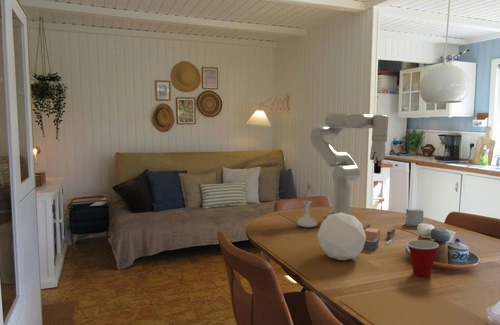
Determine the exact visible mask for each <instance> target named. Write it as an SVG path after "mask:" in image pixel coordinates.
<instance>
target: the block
mask: <svg viewBox="0 0 500 325" xmlns="http://www.w3.org/2000/svg"><path fill="white" fill-rule="evenodd" d="M364 232H365V235H366V240H368V241H374V240H375V239H379V241H380V240H381V229H379V228H372V227H370V228H367V229H365V230H364Z"/></svg>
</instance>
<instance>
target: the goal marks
mask: <svg viewBox="0 0 500 325" xmlns="http://www.w3.org/2000/svg"><path fill="white" fill-rule="evenodd" d="M393 240H394V239H392V238H391V239H388V241H387V242H386V243H385V245H387V246H388V245H389V244H391V243H392V242H393Z"/></svg>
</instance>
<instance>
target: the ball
mask: <svg viewBox="0 0 500 325" xmlns="http://www.w3.org/2000/svg"><path fill="white" fill-rule="evenodd" d="M363 226H364V225H363V223H362V222H361V221H360V220H359V219H357V218H356V217H355V216H354V215H353V214H352V215H351V214H350V215H348V214H345V213H342V212H340V213H336V214H332V215H331V214H327V216H326V217H325V219H324V220H323V221H322V222H321V224H320V226H319V229H318V232H317V235H316V237H317V239H318V242H319V244H320V247H321V250H323V252H324V253H325V254H326V255H327V256H328V257H329V258H332V259H334V260H338V261H340V260H342V261H341V262H343V260H344V261H347V260H351V259H355V258H356V257H357V256H358V255H359V254H360V253H361V252H362V251H363V250H364V249H363V247H364V243H365V240H366V235H365V232H364V228H363Z"/></svg>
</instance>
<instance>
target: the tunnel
mask: <svg viewBox="0 0 500 325" xmlns="http://www.w3.org/2000/svg"><path fill="white" fill-rule="evenodd" d="M363 228H364V230H365V229H367V228H371V224H370V223H367V224H365V225H363ZM395 232H396V228H395V227H391V228H389V229H388V230H387V232H386V235H387V236H386V239H388V240H390V239H392V238H393V237H394V236H395V235H396V233H395Z"/></svg>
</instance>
